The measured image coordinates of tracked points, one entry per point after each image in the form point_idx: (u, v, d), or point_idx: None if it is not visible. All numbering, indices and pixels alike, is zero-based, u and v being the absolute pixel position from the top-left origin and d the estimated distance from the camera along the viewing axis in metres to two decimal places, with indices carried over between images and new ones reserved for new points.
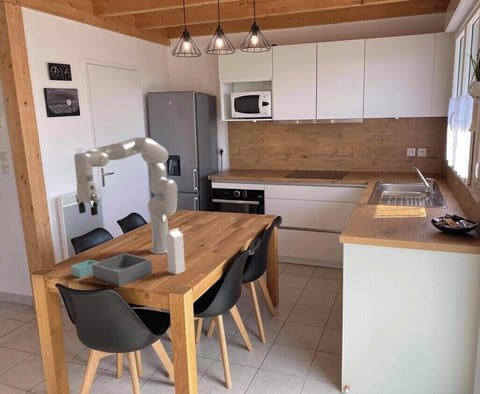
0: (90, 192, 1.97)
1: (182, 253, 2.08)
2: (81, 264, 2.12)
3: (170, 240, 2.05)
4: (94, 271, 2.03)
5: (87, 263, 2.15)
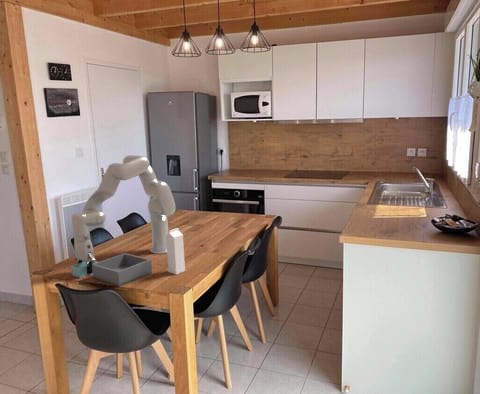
0: (87, 251, 2.06)
1: (182, 253, 2.08)
2: (81, 264, 2.12)
3: (170, 240, 2.05)
4: (94, 271, 2.03)
5: None
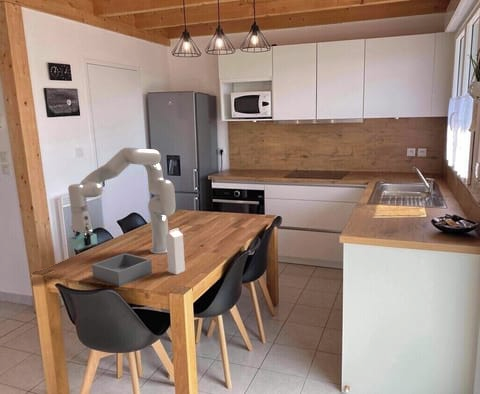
0: (84, 222, 2.03)
1: (182, 253, 2.08)
2: (78, 237, 2.10)
3: (170, 240, 2.05)
4: (94, 271, 2.03)
5: None
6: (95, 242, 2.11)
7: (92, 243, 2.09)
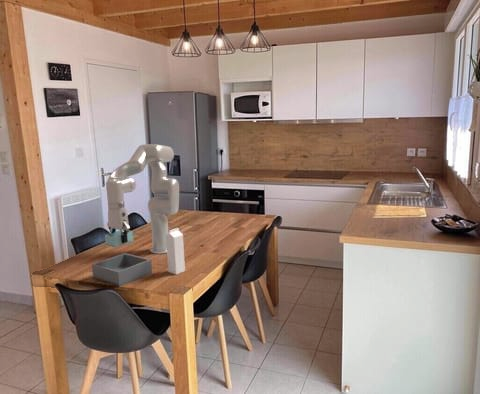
0: (122, 219, 1.98)
1: (182, 253, 2.08)
2: (114, 234, 2.05)
3: (170, 240, 2.05)
4: (94, 271, 2.03)
5: (120, 233, 2.08)
6: (131, 239, 2.05)
7: (128, 240, 2.04)
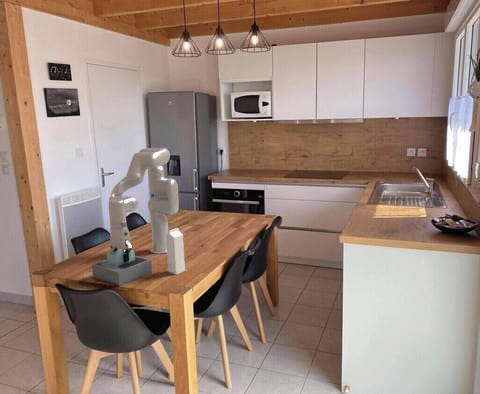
0: (124, 238, 1.99)
1: (182, 253, 2.08)
2: (116, 253, 2.06)
3: (170, 240, 2.05)
4: (94, 271, 2.03)
5: (122, 252, 2.09)
6: (133, 258, 2.07)
7: (130, 259, 2.05)
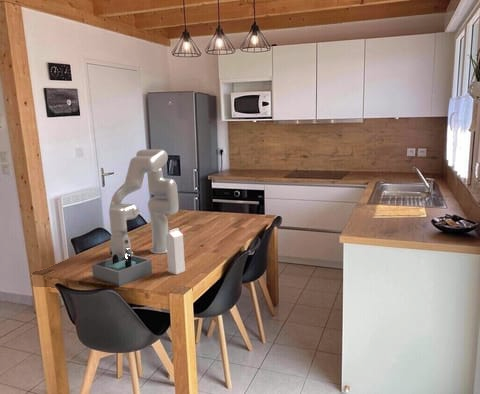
0: (125, 246, 2.00)
1: (182, 253, 2.08)
2: (117, 264, 2.07)
3: (170, 240, 2.05)
4: (94, 271, 2.03)
5: (123, 263, 2.10)
6: None
7: None
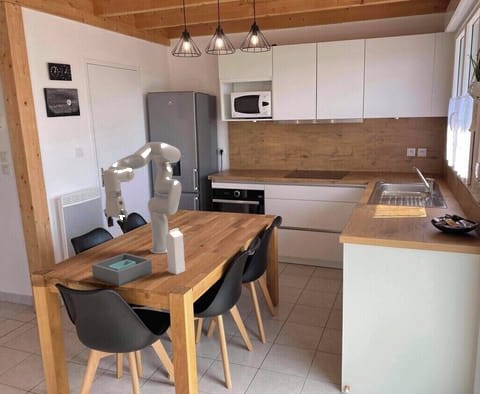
0: (119, 207, 2.05)
1: (182, 253, 2.08)
2: (117, 264, 2.07)
3: (170, 240, 2.05)
4: (94, 271, 2.03)
5: (123, 263, 2.10)
6: None
7: None
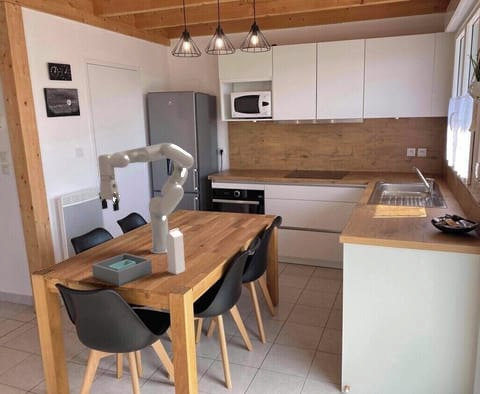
0: (112, 190, 2.20)
1: (182, 253, 2.08)
2: (117, 264, 2.07)
3: (170, 240, 2.05)
4: (94, 271, 2.03)
5: (123, 263, 2.10)
6: None
7: None
